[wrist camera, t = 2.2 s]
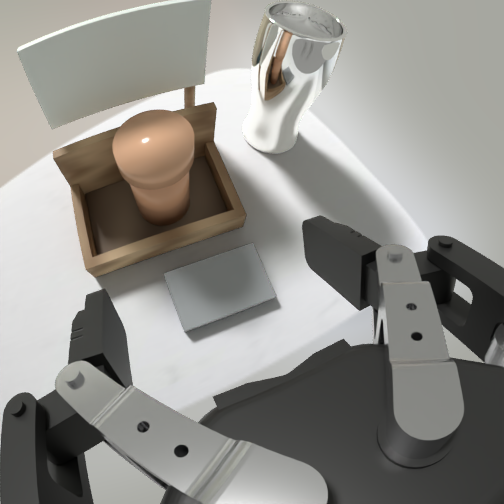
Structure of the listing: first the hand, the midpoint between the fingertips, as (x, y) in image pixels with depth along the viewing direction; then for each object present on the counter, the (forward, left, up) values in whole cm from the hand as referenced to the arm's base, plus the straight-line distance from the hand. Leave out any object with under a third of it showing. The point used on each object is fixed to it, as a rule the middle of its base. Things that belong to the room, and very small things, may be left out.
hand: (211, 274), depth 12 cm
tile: (+2, +2, -15) cm, 15 cm away
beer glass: (+13, +16, -15) cm, 26 cm away
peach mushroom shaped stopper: (0, +11, -14) cm, 18 cm away
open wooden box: (-1, +13, -15) cm, 20 cm away
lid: (-1, +19, -8) cm, 20 cm away
